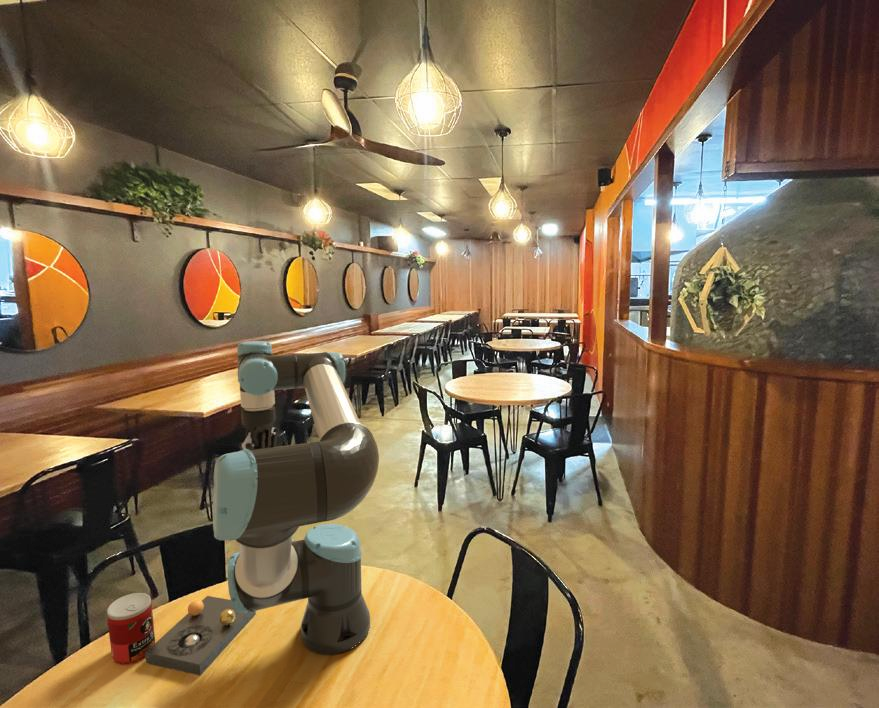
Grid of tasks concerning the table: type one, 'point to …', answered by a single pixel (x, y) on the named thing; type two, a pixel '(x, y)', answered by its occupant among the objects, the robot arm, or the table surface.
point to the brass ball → (227, 617)
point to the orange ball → (195, 607)
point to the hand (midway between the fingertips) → (263, 500)
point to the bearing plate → (210, 633)
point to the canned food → (130, 628)
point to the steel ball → (191, 641)
